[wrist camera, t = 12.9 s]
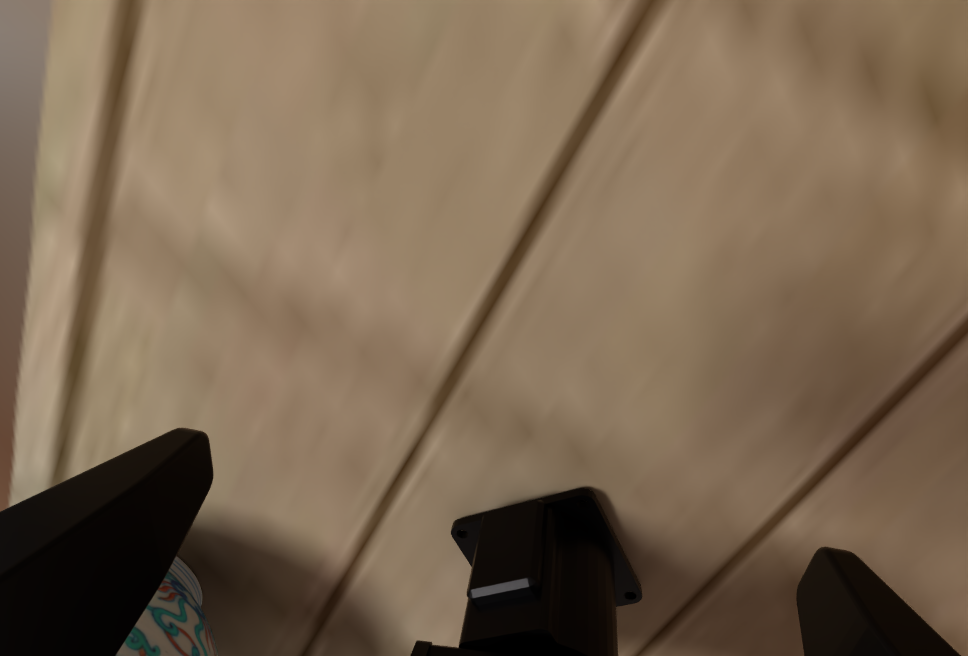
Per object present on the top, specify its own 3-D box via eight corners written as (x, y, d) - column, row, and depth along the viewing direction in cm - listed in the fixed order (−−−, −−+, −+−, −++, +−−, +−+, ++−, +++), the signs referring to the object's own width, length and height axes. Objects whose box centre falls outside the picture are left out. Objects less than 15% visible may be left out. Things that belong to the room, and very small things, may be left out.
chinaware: (73, 660, 38) (-39, 806, 31) (-49, 463, 31) (-227, 597, 24) (309, 680, 35) (242, 844, 28) (233, 470, 28) (122, 622, 21)
